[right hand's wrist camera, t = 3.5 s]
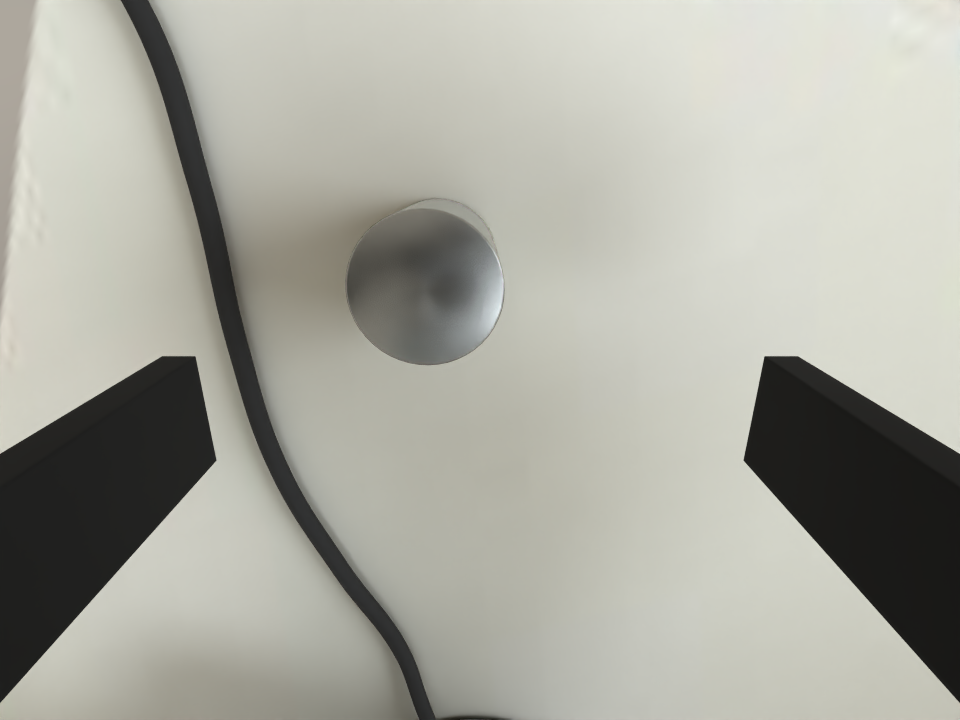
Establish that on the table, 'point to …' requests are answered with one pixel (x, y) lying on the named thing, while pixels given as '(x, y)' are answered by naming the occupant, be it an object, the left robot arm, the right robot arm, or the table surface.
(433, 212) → the canister
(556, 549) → the table surface
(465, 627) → the table surface
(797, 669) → the table surface
